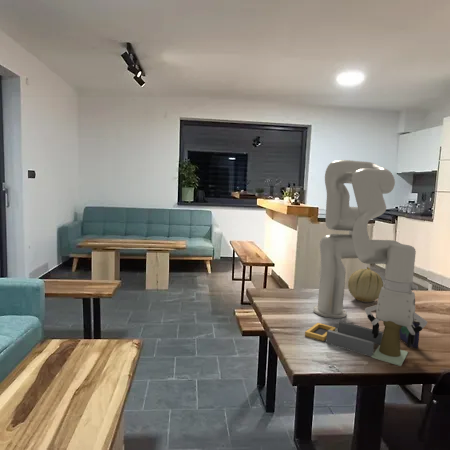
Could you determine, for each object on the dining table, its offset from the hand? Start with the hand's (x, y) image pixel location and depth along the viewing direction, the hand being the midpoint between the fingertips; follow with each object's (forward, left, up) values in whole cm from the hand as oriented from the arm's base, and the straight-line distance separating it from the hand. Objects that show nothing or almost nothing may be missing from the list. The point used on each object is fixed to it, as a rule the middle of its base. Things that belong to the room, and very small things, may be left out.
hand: (392, 341), depth 110 cm
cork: (0, 0, -4) cm, 4 cm away
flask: (-13, +2, -4) cm, 14 cm away
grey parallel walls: (0, -11, -4) cm, 12 cm away
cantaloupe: (-50, -22, -4) cm, 55 cm away
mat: (+1, 0, -4) cm, 4 cm away
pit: (0, -22, -4) cm, 23 cm away
